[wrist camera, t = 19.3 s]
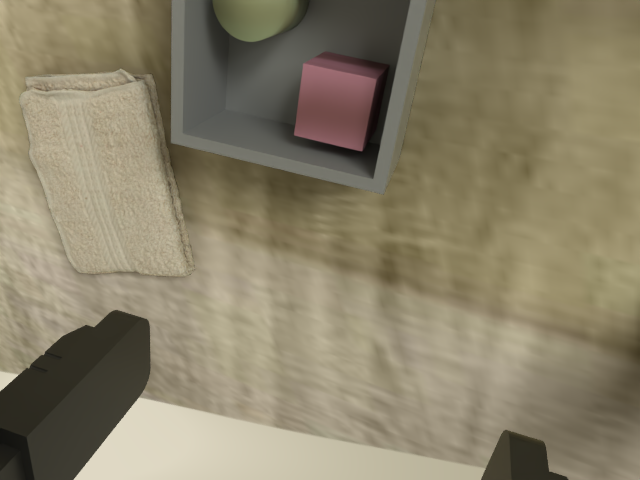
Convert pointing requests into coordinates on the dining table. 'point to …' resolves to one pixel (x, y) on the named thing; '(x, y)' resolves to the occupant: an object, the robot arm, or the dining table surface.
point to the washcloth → (107, 172)
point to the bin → (293, 85)
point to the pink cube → (340, 100)
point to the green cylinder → (259, 17)
